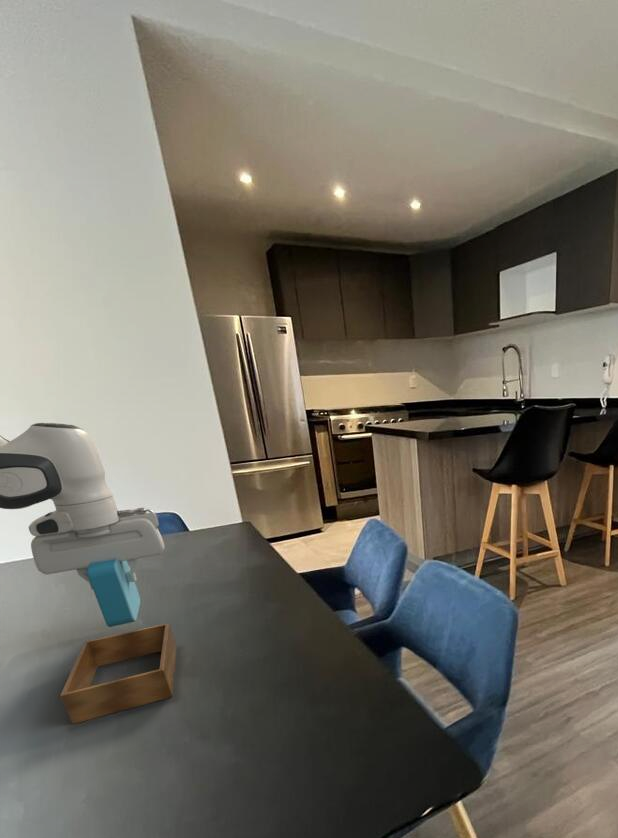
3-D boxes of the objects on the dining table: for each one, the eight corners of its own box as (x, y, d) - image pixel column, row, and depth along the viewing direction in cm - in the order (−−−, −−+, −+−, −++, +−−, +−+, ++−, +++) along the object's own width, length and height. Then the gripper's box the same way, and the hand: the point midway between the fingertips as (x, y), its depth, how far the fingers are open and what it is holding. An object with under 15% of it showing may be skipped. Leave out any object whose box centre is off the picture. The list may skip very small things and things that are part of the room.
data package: (116, 606, 102) (96, 551, 97) (141, 601, 104) (123, 547, 99) (108, 630, 92) (85, 570, 87) (135, 624, 93) (114, 565, 89)
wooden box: (72, 724, 72) (59, 696, 70) (94, 665, 87) (84, 641, 85) (172, 696, 77) (163, 669, 75) (176, 646, 92) (169, 622, 90)
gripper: (155, 502, 96) (174, 568, 102) (27, 520, 88) (56, 590, 94) (152, 509, 91) (173, 578, 96) (16, 529, 83) (47, 602, 89)
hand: (114, 584), depth 95 cm, fingers closed on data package, 4 cm apart
